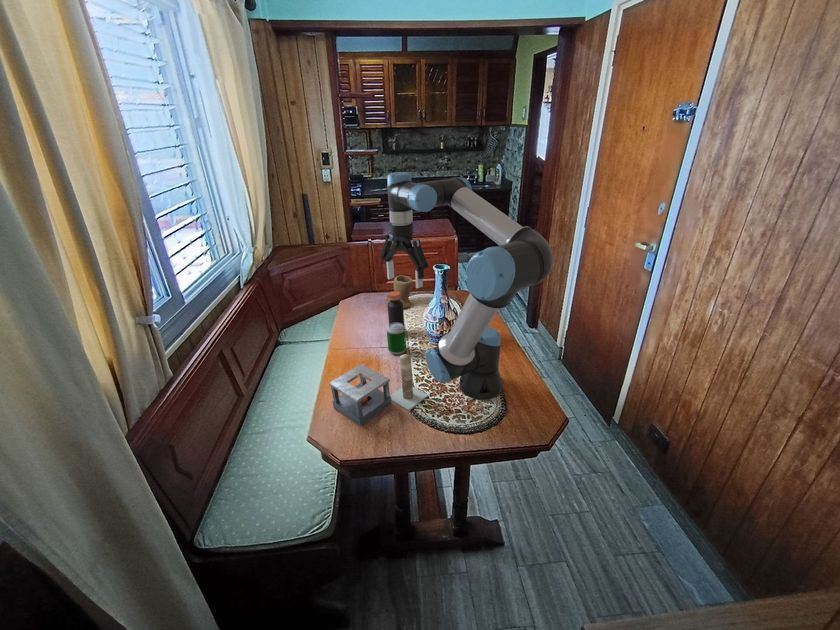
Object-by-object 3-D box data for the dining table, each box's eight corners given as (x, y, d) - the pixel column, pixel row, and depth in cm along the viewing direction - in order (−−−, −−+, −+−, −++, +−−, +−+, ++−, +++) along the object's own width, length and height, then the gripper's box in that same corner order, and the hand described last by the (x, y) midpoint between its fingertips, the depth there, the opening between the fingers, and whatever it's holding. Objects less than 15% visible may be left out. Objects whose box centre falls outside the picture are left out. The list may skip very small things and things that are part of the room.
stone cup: (417, 306, 198) (416, 279, 191) (395, 311, 194) (393, 284, 187) (406, 296, 210) (404, 270, 204) (385, 300, 206) (383, 274, 200)
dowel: (415, 395, 134) (412, 356, 127) (408, 400, 132) (405, 361, 125) (407, 391, 136) (404, 353, 129) (400, 396, 134) (397, 357, 127)
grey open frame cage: (391, 403, 132) (389, 378, 127) (360, 426, 123) (356, 400, 118) (364, 387, 140) (361, 363, 135) (333, 407, 131) (329, 382, 126)
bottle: (408, 333, 174) (405, 293, 165) (396, 339, 170) (393, 298, 160) (398, 328, 178) (395, 289, 169) (386, 334, 174) (383, 293, 165)
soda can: (404, 356, 157) (402, 331, 152) (386, 355, 159) (384, 329, 153) (408, 347, 164) (406, 322, 158) (391, 345, 165) (389, 320, 160)
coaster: (428, 396, 135) (428, 394, 134) (408, 411, 128) (408, 409, 128) (407, 384, 141) (407, 383, 140) (387, 398, 134) (387, 397, 134)
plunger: (370, 402, 131) (369, 391, 129) (361, 409, 128) (360, 397, 126) (363, 398, 133) (361, 386, 131) (354, 404, 131) (352, 392, 129)
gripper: (438, 225, 122) (439, 287, 132) (382, 215, 136) (387, 271, 146) (423, 231, 117) (425, 294, 127) (367, 219, 131) (372, 277, 141)
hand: (404, 282), depth 136 cm, fingers open, 13 cm apart
